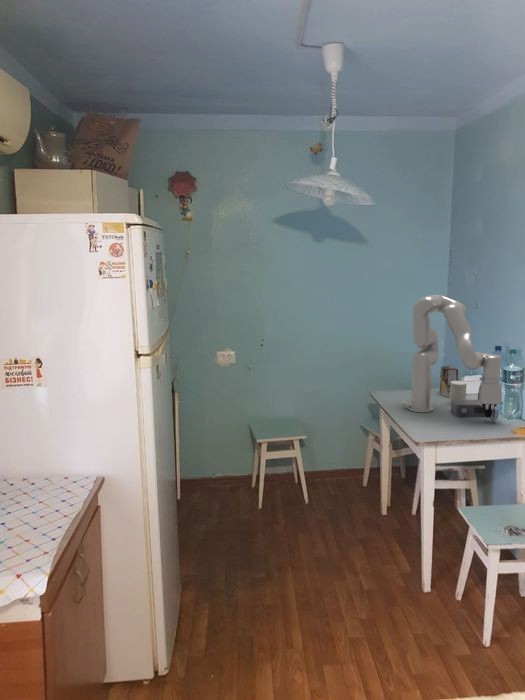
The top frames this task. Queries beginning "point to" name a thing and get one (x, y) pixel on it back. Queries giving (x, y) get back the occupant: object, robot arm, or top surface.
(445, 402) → the top surface
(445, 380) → the coffee box
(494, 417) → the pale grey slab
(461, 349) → the robot arm
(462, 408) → the camera body
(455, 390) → the cup
